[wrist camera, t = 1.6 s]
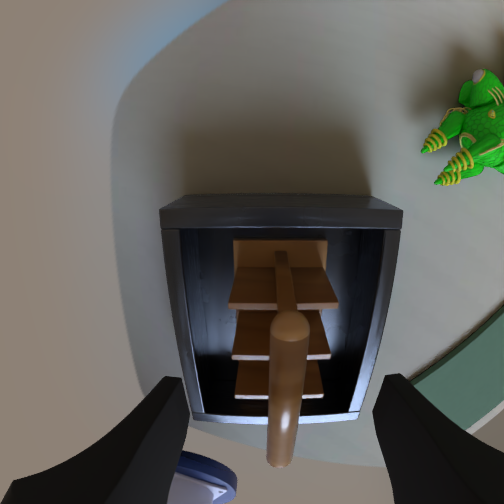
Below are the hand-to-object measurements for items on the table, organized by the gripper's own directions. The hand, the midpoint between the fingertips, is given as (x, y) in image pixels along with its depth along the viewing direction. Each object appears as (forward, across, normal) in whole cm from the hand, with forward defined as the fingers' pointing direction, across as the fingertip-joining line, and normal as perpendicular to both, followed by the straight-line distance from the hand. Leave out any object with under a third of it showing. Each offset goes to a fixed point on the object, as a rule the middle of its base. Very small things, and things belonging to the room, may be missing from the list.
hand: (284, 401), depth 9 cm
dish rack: (+6, 0, 0) cm, 6 cm away
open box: (+7, 0, 0) cm, 7 cm away
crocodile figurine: (+8, -15, -12) cm, 21 cm away
